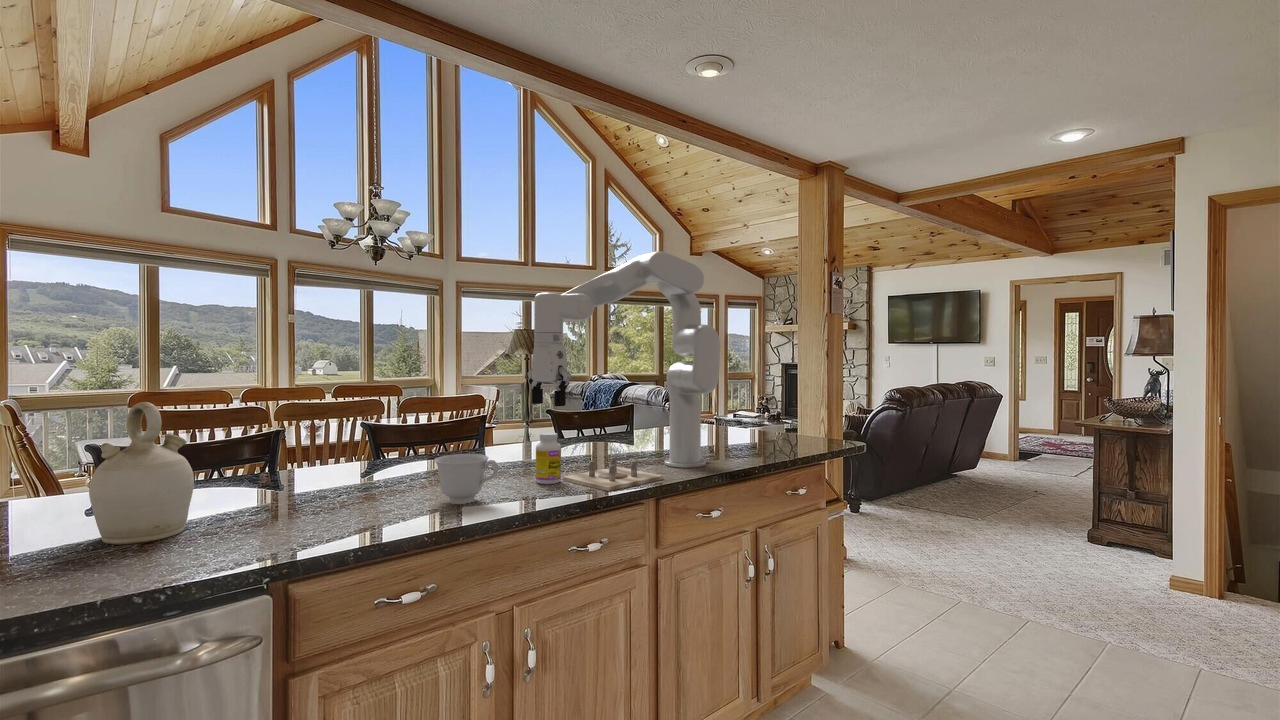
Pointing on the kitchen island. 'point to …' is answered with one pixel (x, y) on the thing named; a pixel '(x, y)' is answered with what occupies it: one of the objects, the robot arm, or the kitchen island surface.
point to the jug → (142, 484)
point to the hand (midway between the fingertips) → (548, 404)
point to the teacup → (463, 475)
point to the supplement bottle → (548, 459)
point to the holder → (612, 477)
